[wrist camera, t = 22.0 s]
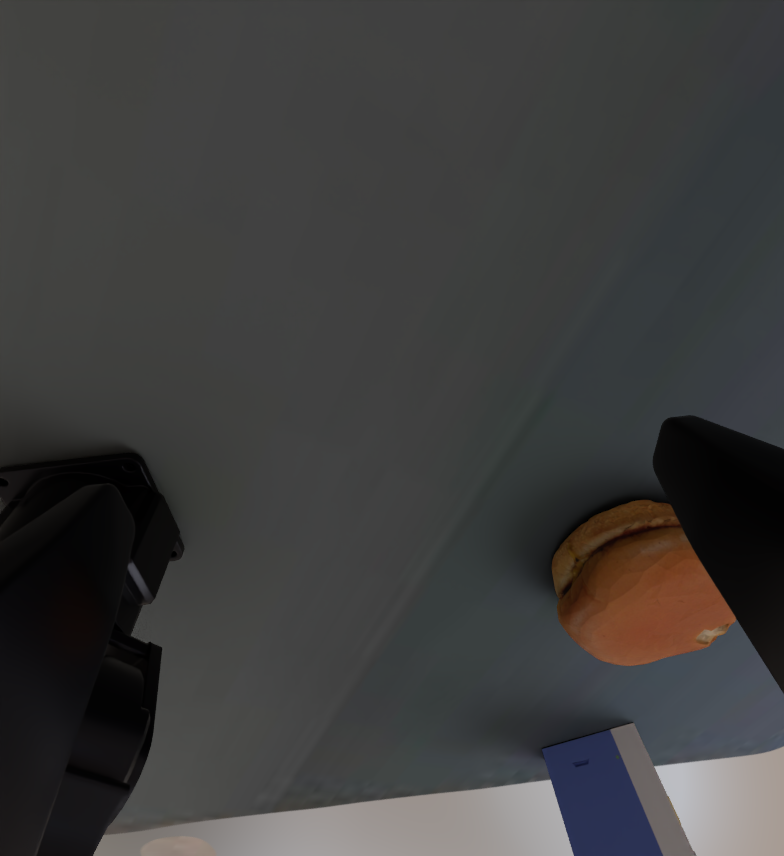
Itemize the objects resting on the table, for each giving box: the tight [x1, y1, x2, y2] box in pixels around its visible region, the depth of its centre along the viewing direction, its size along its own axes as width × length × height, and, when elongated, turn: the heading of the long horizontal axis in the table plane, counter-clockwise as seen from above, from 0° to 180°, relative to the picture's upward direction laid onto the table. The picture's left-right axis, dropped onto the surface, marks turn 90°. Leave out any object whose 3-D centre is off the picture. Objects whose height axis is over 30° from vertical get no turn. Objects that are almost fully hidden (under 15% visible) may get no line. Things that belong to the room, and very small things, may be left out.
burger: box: [552, 500, 736, 666], centre depth 27 cm, size 10×9×5 cm
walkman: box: [542, 723, 696, 856], centre depth 36 cm, size 8×3×12 cm, turn 114°
